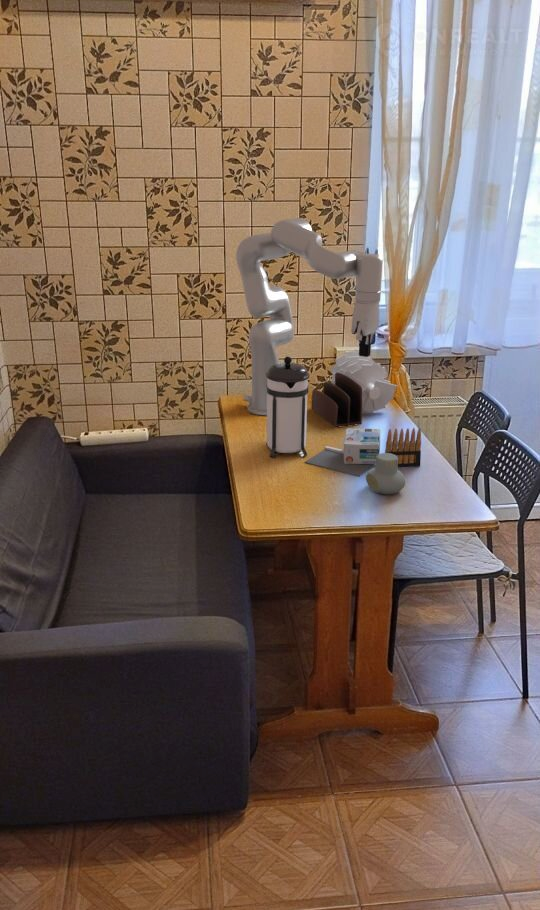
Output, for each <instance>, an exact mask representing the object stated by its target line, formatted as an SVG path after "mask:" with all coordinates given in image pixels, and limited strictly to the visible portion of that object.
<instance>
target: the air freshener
mask: <svg viewBox="0 0 540 910" xmlns="http://www.w3.org/2000/svg"><path fill="white" fill-rule="evenodd" d="M365 480H366V481H365V482H366V483H367V486H368V487H369V489H370V490H371V491H373V492H375V493H377V494H380V495H393V494H396V493H398V492H400V491H402V490H403V488H405V486H406V478H405V475H404V474H403V473H402V471H400V470H399V468H398V457H397V456H396V455H394V454H391V453H385V452H380V454H379V455H377V456H376V464H375V467H374V468H372V469H371V470H369V471H368V472H367V474H366V476H365Z"/></svg>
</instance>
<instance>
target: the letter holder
mask: <svg viewBox="0 0 540 910" xmlns="http://www.w3.org/2000/svg"><path fill="white" fill-rule="evenodd" d="M310 407H311V409H310V410H311V411H312V412H314V413H315V412H316V414H317V415H318V416H319V415H320V416H319V417H321V418H322V419H323V418H324V419H323V420H324V421H326V422H327V421H328V422H327V423H328V424H330V423H331V424H330V425H332V426H333V427H334V426H335V427H334V428H336V427H338V428H340V427H339V426H345V427H349V426H348V425H352V426H356V425H355V424H360V425H362V423H363V410H362V387H361V386H360V385H359V384H358V383H357V382H355V381H354V380H353V379H351V378H349V377H348V376H346V375H343V374H341V373H338V372H336V373H335V385H334V384H332V383H331V382H330V381H324V382H323V392H322V391H320V390H317V389H312V392H311V405H310Z"/></svg>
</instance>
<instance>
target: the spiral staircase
mask: <svg viewBox="0 0 540 910" xmlns="http://www.w3.org/2000/svg"><path fill="white" fill-rule="evenodd" d="M334 361H335V363H334V365H333V367H332V368H331V369H330V373H332V376H331V382H330V383H332V384H334V385H335V373H336V372H338V373H341V374H343V375H346V376H348V377H349V378H351V379H353V380H354V381H355V382H357V383H358V384H359V385H360V386H361V387H362V412H363V411H364V412H368V413H372V414H373V413H374V412H375V411H379V410H382V409H385V408H386V406H387V405H388V404H389V403H391V401H392V400H393V399H394V398H395V397H394V395H395V392H396V389H397V388H398V385H397V384H392V383H391V381H389V380H386V378H388V377H389V374H388V371H387V369H386V366H382V365H381V362H378V363H377V362H376V361H375V360H374V359H373V357H372V356H371V355H370V356H368V357H364V356H359V349H358V348H356V349H355V351H344V354H343V355H341V356H339V357H337V358H336V359H334Z"/></svg>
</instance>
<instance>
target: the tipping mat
mask: <svg viewBox="0 0 540 910" xmlns="http://www.w3.org/2000/svg"><path fill="white" fill-rule="evenodd" d="M304 463H305V464H308V463H309V465H313V466H317V467H320V468H324V469H328V470H332V471H337V472H340V473H344V474H348V475H351V476H355V477H361V476H362V475H363V474H365V473H366V472H367V471H368V470H369V471H370V469H371V468H373V467H374V466H376V464H344V449H340V448H337V447H333V446H330V445H329V446H328V445H326V446H324V449H323V450H321V451H319V452H318V453H316V454H315V455H313V456H312V457H310V458H309V459H307V460H305V461H304Z"/></svg>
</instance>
